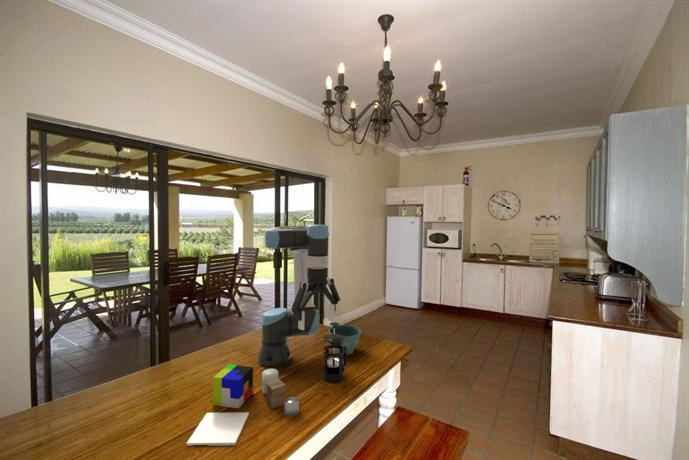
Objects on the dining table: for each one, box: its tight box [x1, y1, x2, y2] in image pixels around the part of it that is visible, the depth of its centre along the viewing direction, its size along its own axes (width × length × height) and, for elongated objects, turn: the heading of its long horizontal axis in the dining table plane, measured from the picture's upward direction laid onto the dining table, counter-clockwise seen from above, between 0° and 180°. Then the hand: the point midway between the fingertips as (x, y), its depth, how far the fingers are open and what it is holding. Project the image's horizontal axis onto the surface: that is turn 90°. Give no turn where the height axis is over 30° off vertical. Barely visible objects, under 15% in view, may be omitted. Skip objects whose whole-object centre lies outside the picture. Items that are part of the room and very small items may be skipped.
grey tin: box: [283, 396, 300, 418], centre depth 105 cm, size 5×5×4 cm
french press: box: [321, 321, 347, 384], centre depth 129 cm, size 12×9×23 cm
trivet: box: [186, 411, 250, 447], centre depth 96 cm, size 14×14×1 cm
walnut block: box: [265, 378, 286, 410], centre depth 110 cm, size 5×5×7 cm
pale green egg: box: [261, 368, 279, 395], centre depth 118 cm, size 6×6×7 cm
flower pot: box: [328, 324, 361, 356], centre depth 154 cm, size 16×16×11 cm
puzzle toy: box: [212, 363, 254, 409], centre depth 112 cm, size 10×10×10 cm
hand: (316, 324), depth 111 cm, fingers open, 13 cm apart
